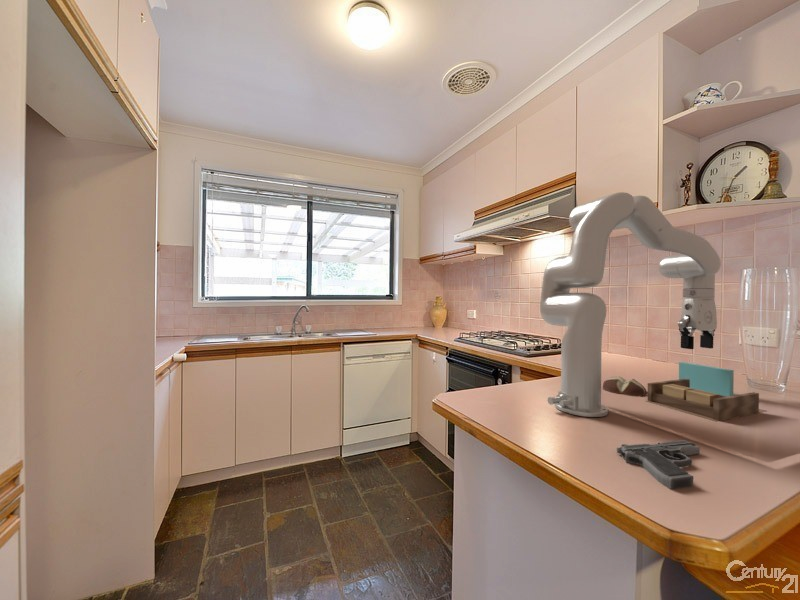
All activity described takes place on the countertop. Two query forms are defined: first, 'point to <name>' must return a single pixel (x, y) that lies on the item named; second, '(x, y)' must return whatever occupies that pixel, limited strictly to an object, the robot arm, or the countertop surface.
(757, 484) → the countertop surface
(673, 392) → the offcut left
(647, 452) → the handgun
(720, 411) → the rack
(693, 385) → the panel
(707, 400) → the offcut right
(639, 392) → the bread
